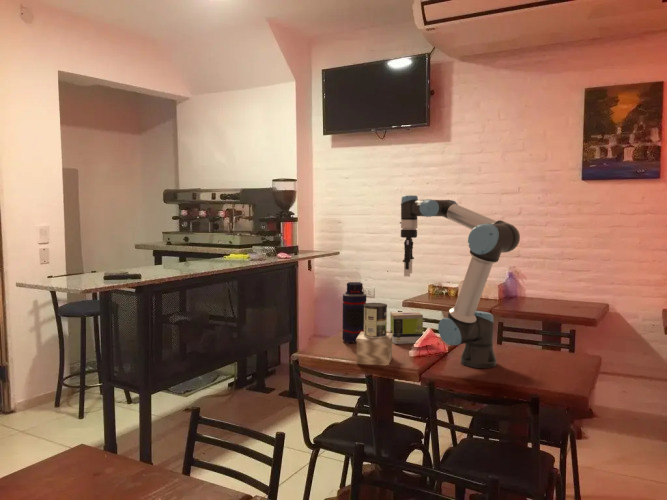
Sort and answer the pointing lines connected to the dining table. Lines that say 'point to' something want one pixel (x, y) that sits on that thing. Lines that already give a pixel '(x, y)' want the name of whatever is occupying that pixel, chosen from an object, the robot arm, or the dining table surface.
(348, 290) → the red-striped thermos flask
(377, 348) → the birch box
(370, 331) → the coffee can
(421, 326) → the tea box
